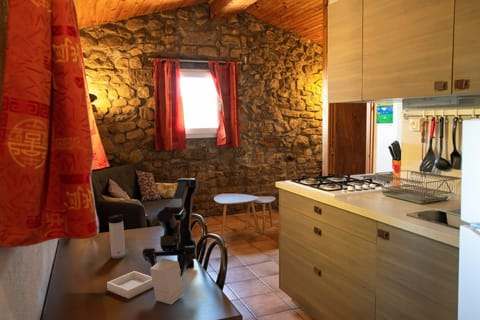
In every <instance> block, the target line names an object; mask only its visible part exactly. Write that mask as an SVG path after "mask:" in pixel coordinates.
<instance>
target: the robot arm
mask: <svg viewBox="0 0 480 320" xmlns="http://www.w3.org/2000/svg"><path fill="white" fill-rule="evenodd" d="M199 182H200V181H199V180H197V179H196V178H195V177H193V178H191V177H190V178H189V177H187V178H186V177H184V178H182V177H180V178H177V185H176V188H175V191H174V194H173V199H172V200H171V201H169V202H168V203H167V205H166V206H163V209H162V210H159V212H158V213H157V217H156V218H157V220H158V222H159V224H160V225H161V228H162V229H163V235H161V236H160V238H159V239H160V241H159V243H160V244H159V245H160V249H161V250H156V248H155V247H144V248H143V250H142V257H143V259H144V261H146V262H148V263H149V264H150V266H151V267H153V266H154V265H155V264H157V263H158V262H157V257H175V256H176V259H177V260H176V261H178V262H179V267H180V272H181V277H183V276H184V273H185V272H186V269H192V268H195V260H196V259H197V252H198V248H197V247H198V246H197V243H196V241H195V239H194V237H195V236H194V234H193V233H192V231H191V229H192V215H193V205H194V204H193V203H194V201H193V200H194V198H195V196H196V195H197V193H198V189H199V185H200V183H199ZM179 222H180V223H179Z"/></svg>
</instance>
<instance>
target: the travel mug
mask: <svg viewBox="0 0 480 320" xmlns="http://www.w3.org/2000/svg"><path fill="white" fill-rule="evenodd" d="M123 217H124V214H120V213H119V214H115V215H111V216H109V217H108V226H109V227H108V228H109V229H108V230H109V241H110V253H111V259H114V260H115V259H116V260H117V259H123V258H124V257H126V245H125V242H126V241H125V232H124V231H125V230H124V229H125V227H124V218H123Z"/></svg>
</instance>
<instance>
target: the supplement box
mask: <svg viewBox="0 0 480 320" xmlns="http://www.w3.org/2000/svg"><path fill="white" fill-rule="evenodd" d="M149 272H150V276H151V277H152V282H153V286H154V287H153V291H154V295H155V296H154V297H155V300H156V301H157V302H161V303H164V304H168V305H173V304H174V303H175V302H176V301H177V300H178V299H180V298H181V297H182V296H183V295H184V294H185V288H184V284H183V279H182V277H183V276H181V269H180V267H179V262H178V261H177V260H173V259H168V258H163V259H161V260H159V261H158V262H157V264H155V265H154V266H153V267H152V266H151V267H150V268H149Z"/></svg>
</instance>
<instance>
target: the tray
mask: <svg viewBox="0 0 480 320" xmlns="http://www.w3.org/2000/svg"><path fill="white" fill-rule="evenodd" d="M152 288H154V286H153V282H152V277H151V275H148V274H144V273H142V272H139V271H136V270H134V271H131V272H129V273H126V274H124V275H121V276H119V277H117V278H114V279H112V280H109V281H107V282H106V289H107V291H109V292H111V293H114V294H115V295H119V296H121V297H123V298H126V299H131V298H133V297H134V296H137V295H139V294H142V293H143V292H145V291H148V290H149V289H152Z"/></svg>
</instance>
